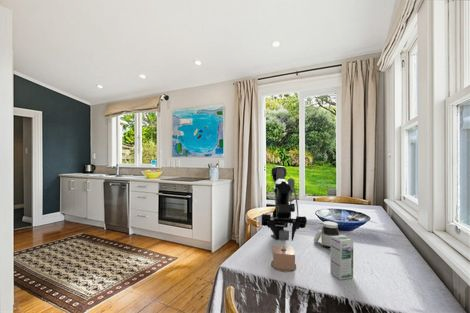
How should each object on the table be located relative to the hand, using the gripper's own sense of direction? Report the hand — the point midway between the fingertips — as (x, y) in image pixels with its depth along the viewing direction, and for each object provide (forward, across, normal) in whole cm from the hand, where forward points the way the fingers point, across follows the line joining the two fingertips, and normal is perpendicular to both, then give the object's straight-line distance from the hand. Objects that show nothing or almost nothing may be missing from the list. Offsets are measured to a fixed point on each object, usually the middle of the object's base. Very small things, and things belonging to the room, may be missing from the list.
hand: (284, 239), depth 92 cm
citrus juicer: (-38, +11, +54) cm, 67 cm away
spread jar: (-11, +23, +27) cm, 37 cm away
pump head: (+3, 0, +4) cm, 5 cm away
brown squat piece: (+7, 0, +9) cm, 11 cm away
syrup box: (+10, +21, +6) cm, 24 cm away
